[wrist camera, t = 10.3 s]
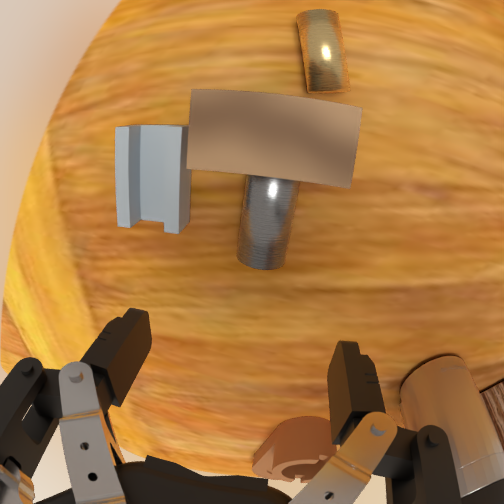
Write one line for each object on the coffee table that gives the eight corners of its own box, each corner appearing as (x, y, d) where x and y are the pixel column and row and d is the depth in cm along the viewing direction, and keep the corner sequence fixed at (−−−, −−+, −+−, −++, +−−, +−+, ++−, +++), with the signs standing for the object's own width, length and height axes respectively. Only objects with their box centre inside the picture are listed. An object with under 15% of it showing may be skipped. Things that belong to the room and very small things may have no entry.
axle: (276, 247, 26) (291, 269, 23) (232, 246, 25) (241, 269, 22) (296, 129, 22) (317, 135, 19) (248, 123, 21) (261, 126, 18)
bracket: (289, 410, 35) (287, 455, 28) (345, 420, 35) (349, 463, 29) (247, 461, 42) (242, 495, 36) (292, 469, 43) (290, 502, 36)
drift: (318, 89, 17) (301, 93, 20) (358, 89, 17) (337, 93, 20) (305, 7, 15) (290, 21, 17) (345, 11, 15) (327, 23, 18)
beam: (336, 173, 22) (350, 188, 17) (207, 157, 23) (186, 168, 18) (345, 109, 20) (362, 107, 15) (212, 94, 21) (191, 89, 16)
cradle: (189, 221, 25) (178, 233, 23) (132, 215, 26) (117, 226, 23) (193, 125, 22) (181, 126, 19) (132, 124, 22) (115, 127, 20)
